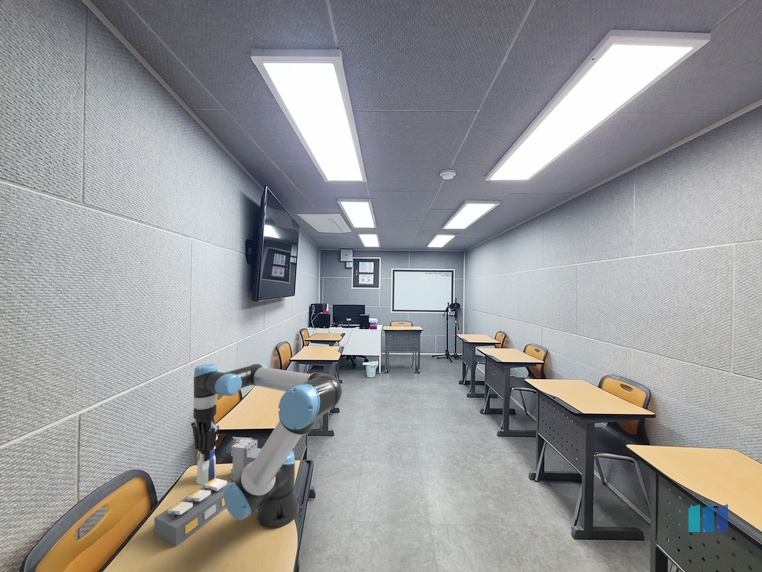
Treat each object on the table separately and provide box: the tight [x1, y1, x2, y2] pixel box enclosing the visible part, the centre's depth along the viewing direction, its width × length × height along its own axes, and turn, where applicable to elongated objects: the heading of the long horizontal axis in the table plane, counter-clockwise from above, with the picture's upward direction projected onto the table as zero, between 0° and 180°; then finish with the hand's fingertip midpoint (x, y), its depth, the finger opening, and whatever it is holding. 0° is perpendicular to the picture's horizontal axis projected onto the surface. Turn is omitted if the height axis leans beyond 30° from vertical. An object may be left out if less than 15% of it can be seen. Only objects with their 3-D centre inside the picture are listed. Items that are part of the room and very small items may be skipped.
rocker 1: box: [167, 501, 193, 515], centre depth 104 cm, size 7×4×1 cm, turn 67°
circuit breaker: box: [230, 438, 262, 482], centre depth 134 cm, size 8×14×15 cm, turn 78°
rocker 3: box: [204, 477, 228, 491], centre depth 117 cm, size 7×4×1 cm, turn 67°
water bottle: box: [196, 435, 218, 485], centre depth 132 cm, size 8×9×25 cm
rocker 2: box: [186, 489, 211, 502], centre depth 110 cm, size 7×4×1 cm, turn 67°
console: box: [153, 477, 232, 547], centre depth 110 cm, size 12×24×8 cm, turn 157°
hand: (204, 468), depth 110 cm, fingers closed
